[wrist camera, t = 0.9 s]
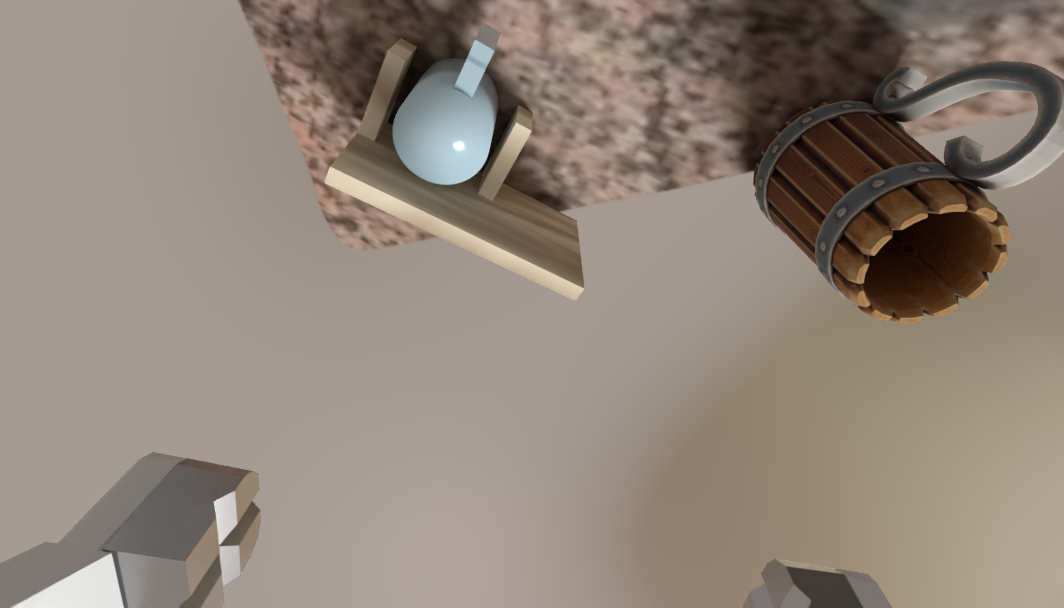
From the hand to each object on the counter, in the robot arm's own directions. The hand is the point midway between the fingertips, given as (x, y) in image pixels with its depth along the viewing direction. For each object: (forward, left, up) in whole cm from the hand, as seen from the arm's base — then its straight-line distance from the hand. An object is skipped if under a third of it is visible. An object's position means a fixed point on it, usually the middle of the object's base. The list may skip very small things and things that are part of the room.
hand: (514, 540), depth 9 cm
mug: (-6, +23, -36) cm, 43 cm away
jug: (+4, -3, -36) cm, 36 cm away
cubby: (+7, +1, -36) cm, 37 cm away
